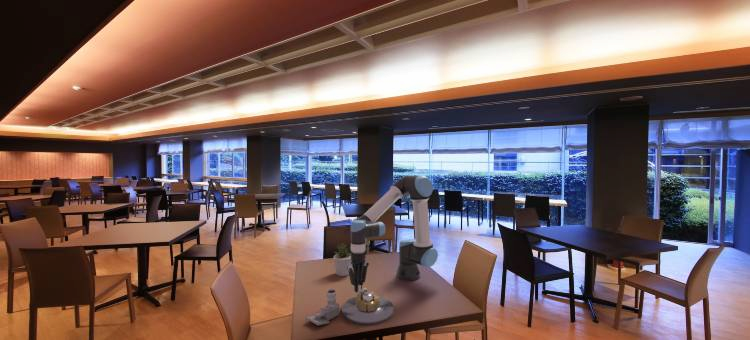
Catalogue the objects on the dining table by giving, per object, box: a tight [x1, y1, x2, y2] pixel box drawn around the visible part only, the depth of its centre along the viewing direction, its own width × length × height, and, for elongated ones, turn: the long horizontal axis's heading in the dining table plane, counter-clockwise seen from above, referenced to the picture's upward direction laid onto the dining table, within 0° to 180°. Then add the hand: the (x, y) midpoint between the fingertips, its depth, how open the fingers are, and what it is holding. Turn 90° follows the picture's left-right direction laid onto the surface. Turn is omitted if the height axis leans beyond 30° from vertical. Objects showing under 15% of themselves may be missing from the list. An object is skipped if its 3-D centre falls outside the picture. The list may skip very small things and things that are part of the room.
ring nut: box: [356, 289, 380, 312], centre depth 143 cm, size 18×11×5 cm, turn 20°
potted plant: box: [332, 244, 351, 277], centre depth 189 cm, size 13×14×20 cm
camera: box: [305, 288, 340, 326], centre depth 132 cm, size 9×12×15 cm
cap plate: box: [341, 287, 395, 326], centre depth 140 cm, size 25×25×8 cm
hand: (358, 297), depth 147 cm, fingers closed
